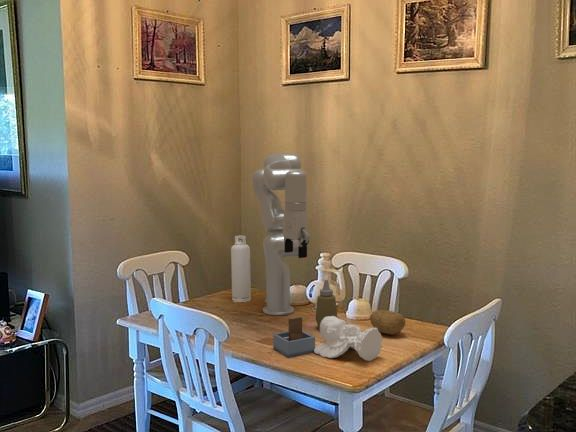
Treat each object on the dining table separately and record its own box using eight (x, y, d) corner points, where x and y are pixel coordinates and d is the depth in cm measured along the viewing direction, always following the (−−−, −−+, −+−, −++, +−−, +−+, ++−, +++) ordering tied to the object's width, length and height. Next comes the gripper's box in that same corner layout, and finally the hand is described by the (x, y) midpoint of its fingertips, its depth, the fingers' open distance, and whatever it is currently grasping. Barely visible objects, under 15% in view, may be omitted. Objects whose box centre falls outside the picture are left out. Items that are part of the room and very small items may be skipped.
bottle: (230, 302, 258) (228, 237, 255) (234, 297, 266) (233, 234, 263) (248, 302, 257) (247, 237, 254) (252, 298, 265) (251, 235, 262)
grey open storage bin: (273, 348, 199) (273, 334, 199) (299, 343, 204) (299, 329, 204) (288, 357, 191) (288, 342, 190) (315, 352, 196) (315, 337, 195)
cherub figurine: (358, 335, 179) (308, 315, 193) (355, 374, 182) (306, 351, 196) (384, 324, 189) (335, 306, 202) (381, 361, 191) (333, 341, 205)
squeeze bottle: (336, 332, 216) (336, 283, 214) (313, 331, 217) (313, 282, 215) (338, 325, 224) (338, 278, 222) (317, 324, 225) (317, 277, 223)
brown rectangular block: (288, 347, 197) (288, 317, 196) (299, 345, 199) (299, 315, 198) (291, 349, 196) (291, 319, 194) (302, 347, 198) (302, 317, 196)
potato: (381, 326, 223) (381, 305, 222) (411, 335, 212) (411, 313, 211) (362, 331, 217) (362, 309, 216) (392, 341, 206) (392, 318, 205)
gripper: (274, 204, 215) (274, 251, 218) (298, 210, 201) (298, 261, 203) (292, 202, 219) (292, 249, 222) (318, 209, 204) (317, 258, 207)
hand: (295, 254), depth 213 cm, fingers open, 9 cm apart
